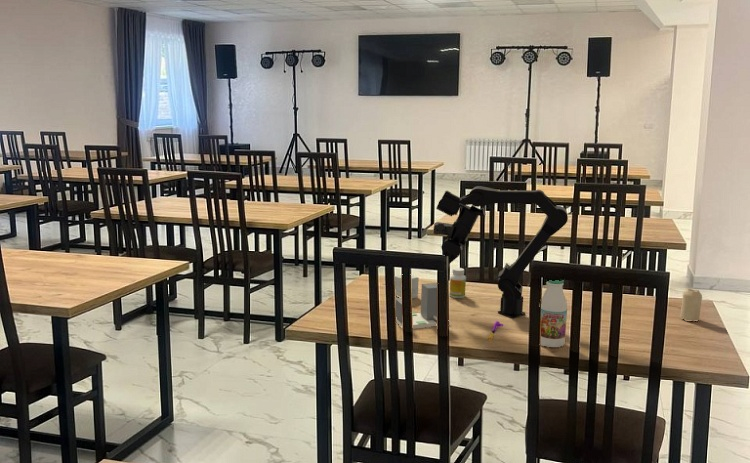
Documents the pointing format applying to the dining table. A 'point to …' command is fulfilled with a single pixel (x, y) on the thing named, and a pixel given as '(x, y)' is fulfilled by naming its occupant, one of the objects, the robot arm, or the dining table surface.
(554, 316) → the milk bottle
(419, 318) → the plate
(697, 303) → the candle
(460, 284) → the supplement bottle
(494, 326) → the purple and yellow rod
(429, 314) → the gray block
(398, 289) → the product box
